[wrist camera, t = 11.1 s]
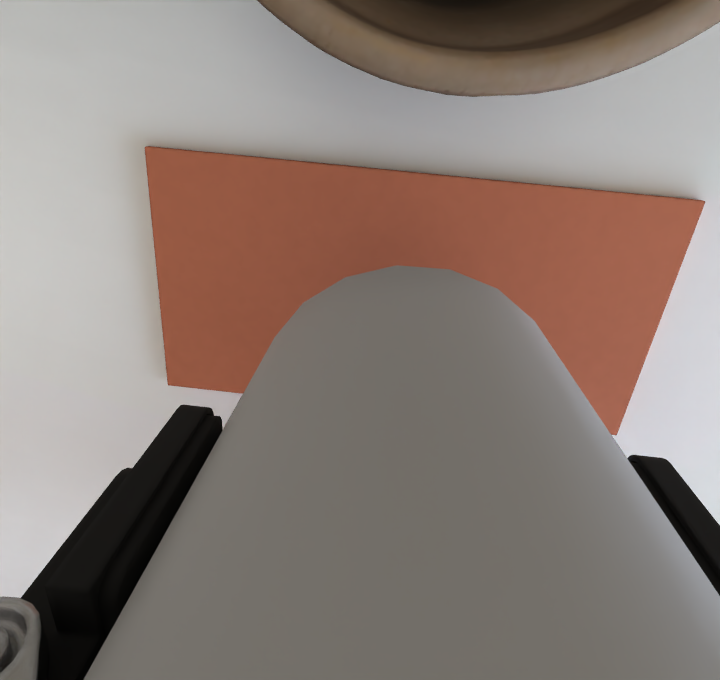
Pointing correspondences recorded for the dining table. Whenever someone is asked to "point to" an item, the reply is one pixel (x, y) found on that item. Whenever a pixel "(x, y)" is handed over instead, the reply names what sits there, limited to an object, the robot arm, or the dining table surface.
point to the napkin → (404, 257)
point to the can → (416, 514)
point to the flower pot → (495, 39)
